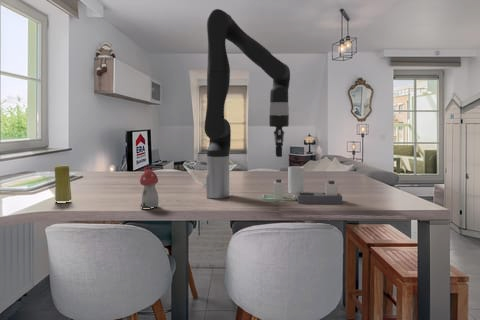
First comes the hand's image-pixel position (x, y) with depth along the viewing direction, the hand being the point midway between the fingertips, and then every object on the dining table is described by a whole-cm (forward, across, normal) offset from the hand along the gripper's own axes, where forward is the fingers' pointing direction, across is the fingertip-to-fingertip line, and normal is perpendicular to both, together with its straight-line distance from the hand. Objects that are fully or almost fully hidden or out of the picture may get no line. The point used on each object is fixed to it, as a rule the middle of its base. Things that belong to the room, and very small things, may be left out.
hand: (278, 155), depth 156 cm
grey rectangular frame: (+18, +7, +15) cm, 25 cm away
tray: (+18, 0, 0) cm, 18 cm away
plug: (+18, 0, 0) cm, 18 cm away
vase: (+18, +7, -85) cm, 87 cm away
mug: (+18, -15, +8) cm, 25 cm away
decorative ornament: (+18, +15, -48) cm, 54 cm away
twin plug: (+17, +7, +20) cm, 27 cm away
